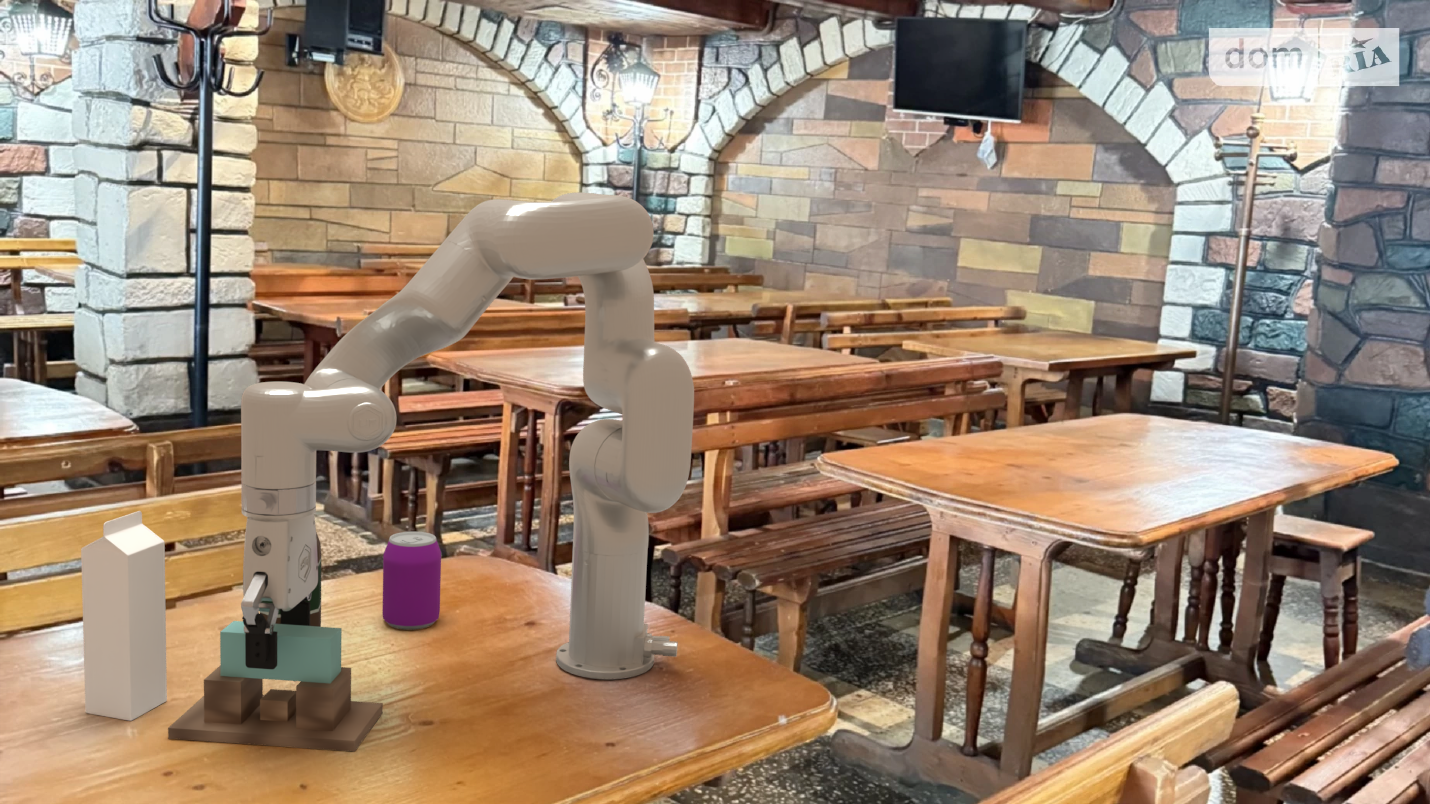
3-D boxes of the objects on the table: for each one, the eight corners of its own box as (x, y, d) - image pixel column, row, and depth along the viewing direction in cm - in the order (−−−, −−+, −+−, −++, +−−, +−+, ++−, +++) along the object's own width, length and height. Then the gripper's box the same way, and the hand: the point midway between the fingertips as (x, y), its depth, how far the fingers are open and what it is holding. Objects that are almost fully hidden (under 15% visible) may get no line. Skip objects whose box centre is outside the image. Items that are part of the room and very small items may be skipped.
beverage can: (414, 608, 178) (415, 526, 176) (451, 622, 173) (453, 538, 171) (370, 621, 172) (371, 537, 170) (407, 635, 167) (409, 549, 165)
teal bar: (341, 671, 139) (341, 628, 138) (330, 683, 135) (330, 639, 134) (233, 663, 139) (233, 620, 138) (220, 675, 136) (220, 631, 135)
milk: (84, 713, 138) (77, 519, 135) (123, 693, 144) (117, 506, 141) (132, 721, 137) (126, 526, 133) (169, 700, 143) (164, 512, 139)
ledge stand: (382, 713, 143) (383, 663, 142) (354, 751, 133) (355, 697, 132) (208, 701, 143) (208, 651, 142) (168, 738, 133) (167, 685, 132)
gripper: (283, 521, 125) (283, 683, 128) (340, 482, 142) (339, 626, 145) (209, 516, 125) (210, 678, 128) (275, 478, 143) (275, 622, 145)
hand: (279, 651), depth 137 cm, fingers open, 9 cm apart
